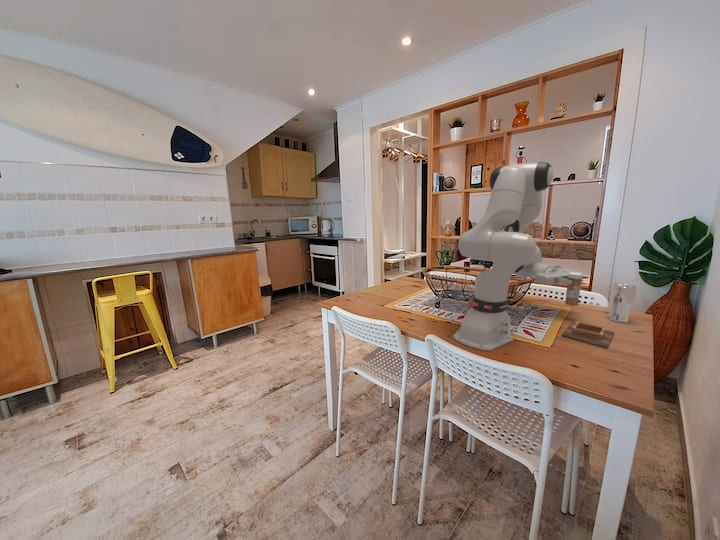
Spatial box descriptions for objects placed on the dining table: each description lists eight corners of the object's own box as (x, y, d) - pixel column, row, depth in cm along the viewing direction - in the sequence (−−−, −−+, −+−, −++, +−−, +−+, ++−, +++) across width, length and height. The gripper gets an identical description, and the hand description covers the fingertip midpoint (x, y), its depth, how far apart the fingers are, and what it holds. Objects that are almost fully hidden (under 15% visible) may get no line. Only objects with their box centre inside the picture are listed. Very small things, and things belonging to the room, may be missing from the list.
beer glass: (634, 323, 114) (642, 287, 111) (617, 323, 114) (624, 288, 111) (619, 316, 121) (626, 283, 118) (603, 316, 121) (609, 283, 118)
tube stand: (607, 348, 95) (608, 341, 94) (561, 336, 104) (562, 329, 104) (613, 333, 105) (615, 326, 105) (571, 323, 115) (572, 317, 114)
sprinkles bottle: (562, 303, 120) (565, 272, 117) (573, 302, 120) (576, 272, 117) (569, 306, 115) (573, 274, 113) (581, 306, 115) (585, 274, 113)
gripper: (528, 269, 124) (559, 276, 111) (562, 265, 130) (595, 272, 117) (527, 283, 125) (556, 291, 112) (561, 279, 131) (592, 286, 118)
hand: (576, 281), depth 115 cm, fingers closed on sprinkles bottle, 4 cm apart
